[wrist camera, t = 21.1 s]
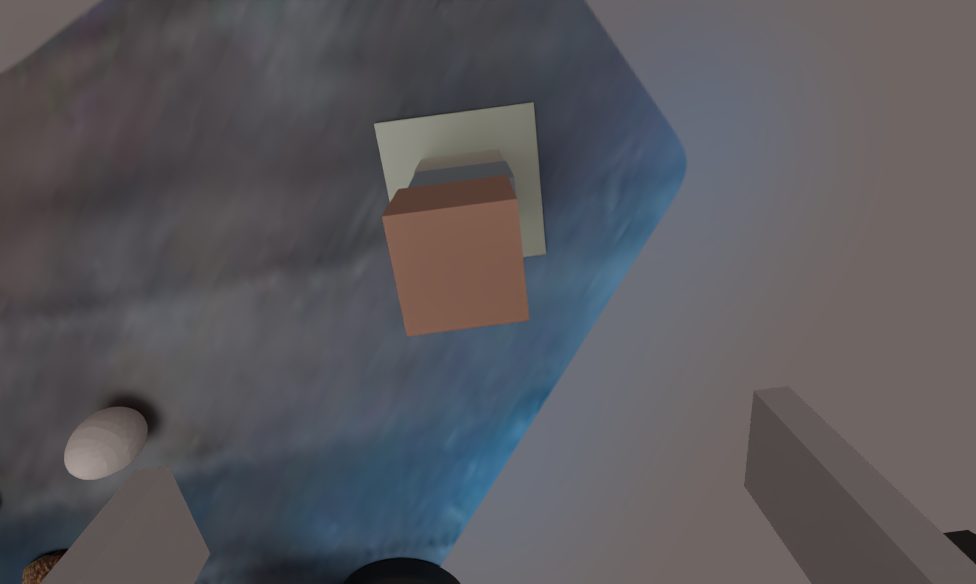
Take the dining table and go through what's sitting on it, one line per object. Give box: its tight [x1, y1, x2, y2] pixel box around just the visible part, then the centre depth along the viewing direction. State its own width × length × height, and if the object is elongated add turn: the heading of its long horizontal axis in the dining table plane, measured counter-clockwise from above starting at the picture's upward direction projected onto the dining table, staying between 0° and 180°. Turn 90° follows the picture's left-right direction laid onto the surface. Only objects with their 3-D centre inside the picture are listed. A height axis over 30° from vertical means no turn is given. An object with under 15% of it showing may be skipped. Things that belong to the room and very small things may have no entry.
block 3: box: [382, 175, 529, 336], centre depth 26 cm, size 6×6×6 cm
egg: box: [64, 407, 148, 480], centre depth 44 cm, size 5×5×7 cm
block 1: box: [414, 149, 504, 174], centre depth 37 cm, size 6×6×6 cm
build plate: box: [374, 102, 546, 257], centre depth 40 cm, size 12×12×1 cm
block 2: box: [408, 161, 516, 195], centre depth 32 cm, size 6×6×6 cm
